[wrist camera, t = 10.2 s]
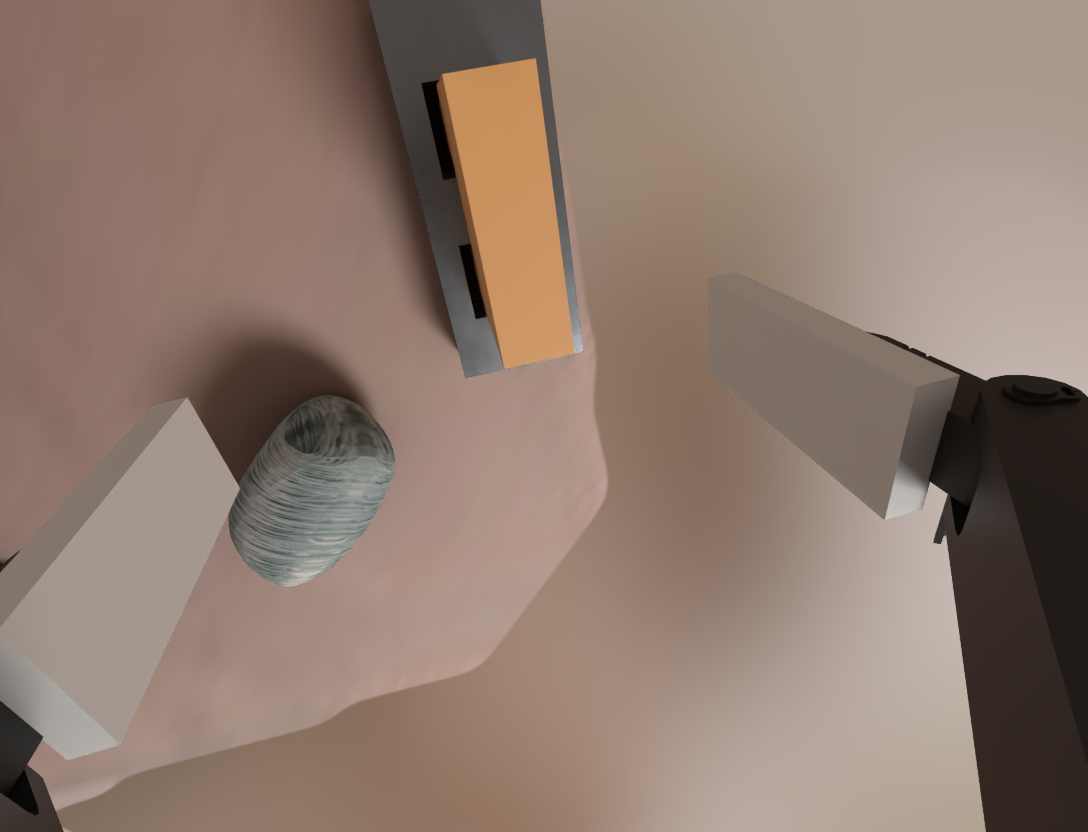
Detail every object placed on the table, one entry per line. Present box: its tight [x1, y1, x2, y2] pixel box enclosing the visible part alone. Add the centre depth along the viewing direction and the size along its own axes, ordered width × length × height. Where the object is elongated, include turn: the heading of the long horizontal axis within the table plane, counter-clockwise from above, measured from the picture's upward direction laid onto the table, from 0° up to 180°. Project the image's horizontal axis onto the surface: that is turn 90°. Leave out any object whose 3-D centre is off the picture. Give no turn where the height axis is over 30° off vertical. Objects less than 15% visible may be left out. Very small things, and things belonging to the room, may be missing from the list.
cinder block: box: [368, 0, 583, 378], centre depth 31 cm, size 8×20×4 cm, turn 9°
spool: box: [229, 395, 395, 586], centre depth 36 cm, size 14×10×10 cm
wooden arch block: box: [437, 58, 575, 369], centre depth 27 cm, size 4×12×12 cm, turn 9°
